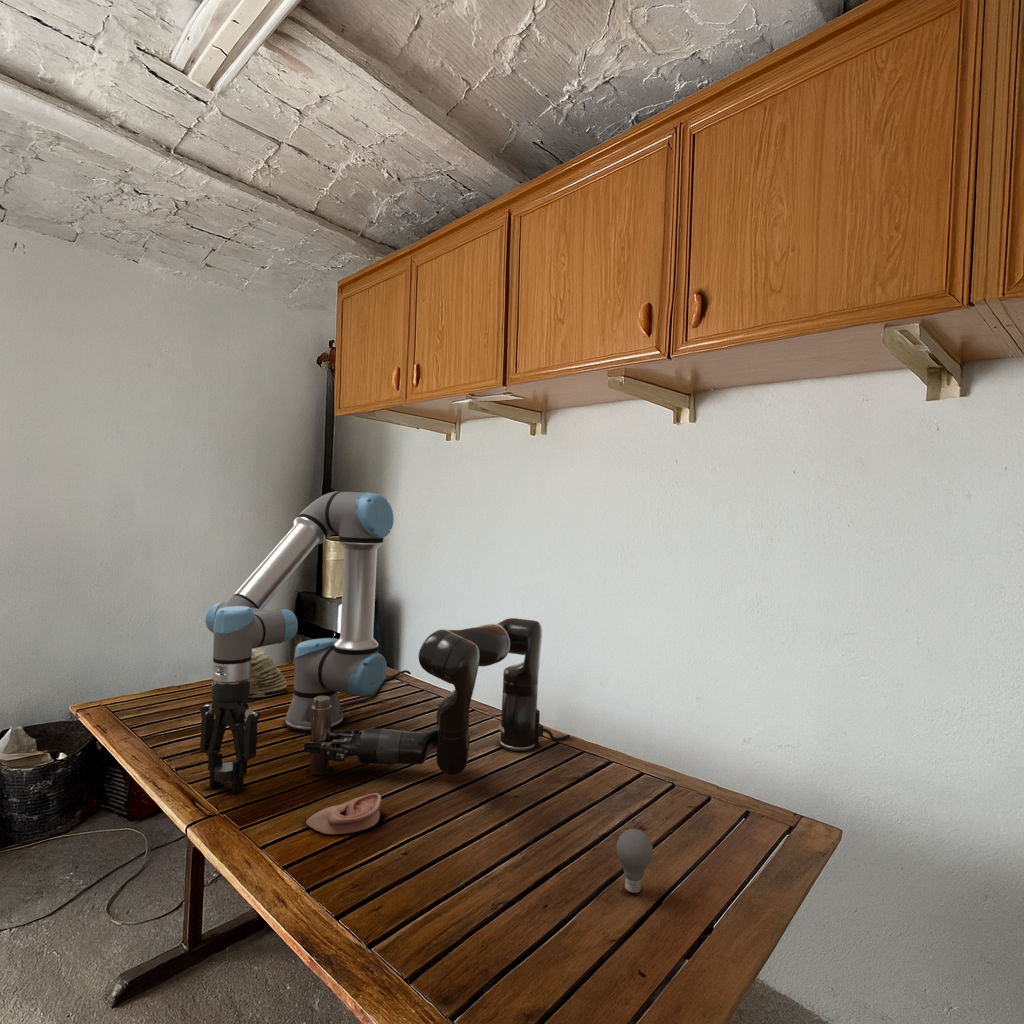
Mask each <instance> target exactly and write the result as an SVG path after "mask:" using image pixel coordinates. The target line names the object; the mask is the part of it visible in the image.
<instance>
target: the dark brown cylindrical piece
mask: <svg viewBox="0 0 1024 1024" xmlns="http://www.w3.org/2000/svg"><path fill="white" fill-rule="evenodd" d="M331 730H332V729H331V705H330V697H329V696H317V697H315V698H314V705H313V706H312V720H311V732H310V742H321V743H323V742H330V733H331ZM329 771H330V760H328V759H323V758H321V755H320V753H309V774H310V775H312V776H323V775H326V774H328V773H329Z"/></svg>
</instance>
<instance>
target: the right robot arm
mask: <svg viewBox="0 0 1024 1024" xmlns="http://www.w3.org/2000/svg"><path fill="white" fill-rule="evenodd" d="M542 642H543V628H542V624H541V623H540V622H539V621H538V620H533V619H525V618H515V617H509V618H506V619H505V618H504V619H503V620H501V621H500V622H497V623H488V624H483V625H478V626H474V627H467V628H463V629H446V628H445V629H444V628H441V629H438V630H436V631H434V632H432V633H430V634H429V635H428V636H427V637H426V638H425V639H424V641H423V642H422V644H421V645H420V648H419V651H418V663H419V665H420V667H421V668H422V669H423V670H424V671H425V672H426V673H428V674H430V675H431V676H433V677H435V678H437V679H439V680H442V681H443V682H445V683H447V684H449V685H453V687H454V690H452V691H451V692H450V693H448V694H447V695H446V696H444V697H443V699H441V701H440V702H439V705H438V707H437V711H436V727H437V728H434V729H428V730H424V731H404V730H398V729H388V728H387V729H386V728H367V727H365V728H363V729H362V731H361V732H360V729H358V728H353V729H351V728H350V729H335V730H333V732H330V742H323V743H321V742H311V741H305V742H304V744H303V752H304V753H309V754H310V753H320V755H321V758H323V759H328V760H329V761H334V762H339V763H343V762H345V761H346V759H345V758H347V757H349V758H351V757H354V756H356V757H357V758H358V761H359V763H361V764H371V765H372V764H374V765H423V764H424V763H425V762H426V761H427V758H428V756H429V754H430V753H431V751H433V750H436V758H435V759H436V766H437V767H438V769H439V770H440V772H442V773H444V774H446V775H448V776H456V775H459V774H461V773H462V772H464V770H465V769H466V768H467V765H468V762H469V761H468V760H469V753H470V751H469V750H470V741H471V735H470V733H469V730H470V707H471V702H472V697H473V694H474V689H475V685H476V680H477V676H478V672H479V667H489V666H493V665H495V664H498V663H500V662H501V661H503V660H505V659H506V658H507V656H508V655H509V654H511V655H519V656H520V655H521V656H524V659H523V661H522V662H520V663H516V664H512V665H508V666H507V667H505V668H504V669H503V672H502V673H503V674H502V675H503V676H502V677H503V678H502V696H501V697H502V698H501V719H500V720H501V721H500V723H499V724H498V729H499V730H500V737H499V738H500V739H499V745H500V747H501V748H503V749H504V750H507V751H512V752H520V753H521V752H528V751H531V750H534V749H535V748H539V740H540V739H539V738H542V737H544V733H546V734H548V736H549V738H550V739H551V740H552V741H555V742H559V741H564V740H567V739H570V738H571V735H570V734H567V735H564V736H560V737H556V736H554V735H553V733H552V731H550V730H549V729H547V728H545V727H544V726H543V724H541V723H540V715H541V712H540V710H539V709H538V695H539V693H538V692H539V690H538V689H539V673H540V667H541V666H540V663H541V651H542Z"/></svg>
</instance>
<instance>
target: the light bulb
mask: <svg viewBox="0 0 1024 1024" xmlns="http://www.w3.org/2000/svg"><path fill="white" fill-rule="evenodd" d="M615 849H616V854H617V857H618V859H619V861H620V863H621V865H622V867H623V873H624V874H623V875H624V876H625V878H624V888H625V890H627V891H628V892H630V893H634V894H635V893H639V892H640V891H641V889H642V887H641V886H642V879H643V877H644V875H645V871H646V868H647V867H648V866H649V864H650V863H651V861H652V859H653V855H654V847H653V843H652V841H651V838H649V836H648V835H647V834H646V833H645V832H643V831H642V830H641V829H636V828H629V829H627V830H625V831H623V832H622V833H621V834H620V835H619V837H618V839H617V841H616V847H615Z"/></svg>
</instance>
